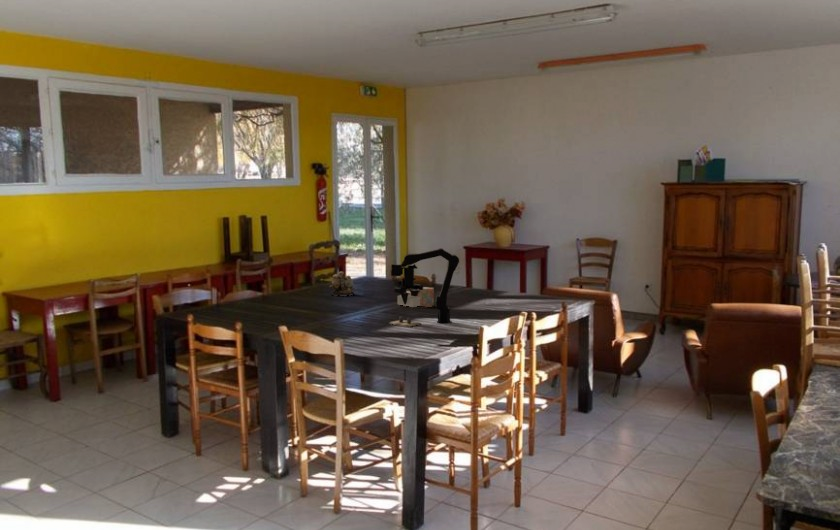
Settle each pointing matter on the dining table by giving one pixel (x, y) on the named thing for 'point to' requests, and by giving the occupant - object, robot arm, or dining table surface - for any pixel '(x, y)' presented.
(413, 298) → the block
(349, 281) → the owl figurine
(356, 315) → the dining table surface
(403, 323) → the base
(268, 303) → the dining table surface
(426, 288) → the stack of blocks
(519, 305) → the dining table surface
